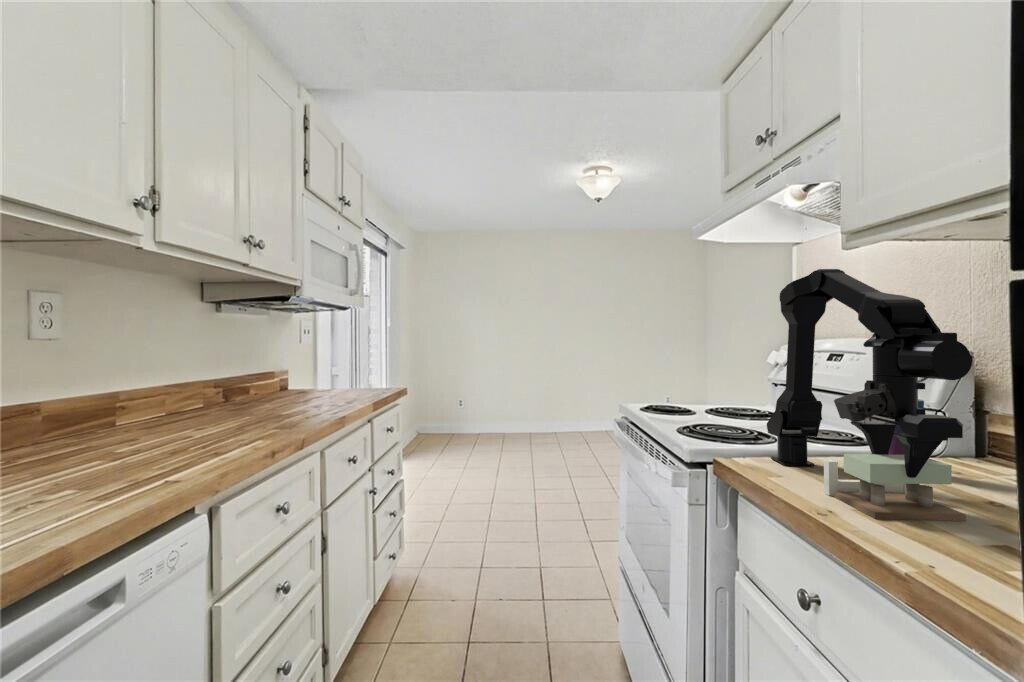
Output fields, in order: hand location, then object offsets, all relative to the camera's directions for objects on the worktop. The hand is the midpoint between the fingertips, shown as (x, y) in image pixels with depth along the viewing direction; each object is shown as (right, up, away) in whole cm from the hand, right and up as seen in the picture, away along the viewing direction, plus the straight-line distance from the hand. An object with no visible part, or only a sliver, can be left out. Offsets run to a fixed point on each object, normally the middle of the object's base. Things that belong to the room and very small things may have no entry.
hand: (895, 471), depth 76 cm
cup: (+20, -6, +23) cm, 31 cm away
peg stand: (0, -6, 0) cm, 6 cm away
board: (0, -1, 0) cm, 1 cm away
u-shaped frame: (0, -6, +6) cm, 9 cm away
